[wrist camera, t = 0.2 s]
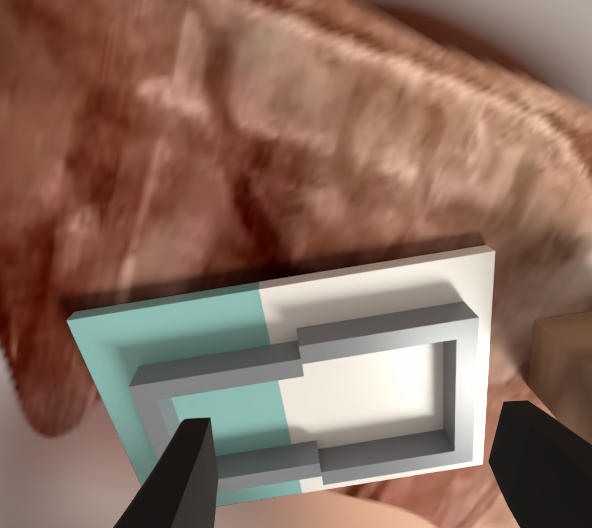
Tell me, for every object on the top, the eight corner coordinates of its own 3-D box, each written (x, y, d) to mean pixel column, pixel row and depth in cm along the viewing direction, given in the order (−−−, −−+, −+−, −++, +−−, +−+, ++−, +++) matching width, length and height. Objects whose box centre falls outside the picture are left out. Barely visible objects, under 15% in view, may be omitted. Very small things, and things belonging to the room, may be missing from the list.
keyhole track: (476, 453, 24) (495, 487, 22) (158, 503, 25) (148, 542, 22) (486, 244, 19) (513, 264, 17) (74, 311, 19) (49, 339, 17)
